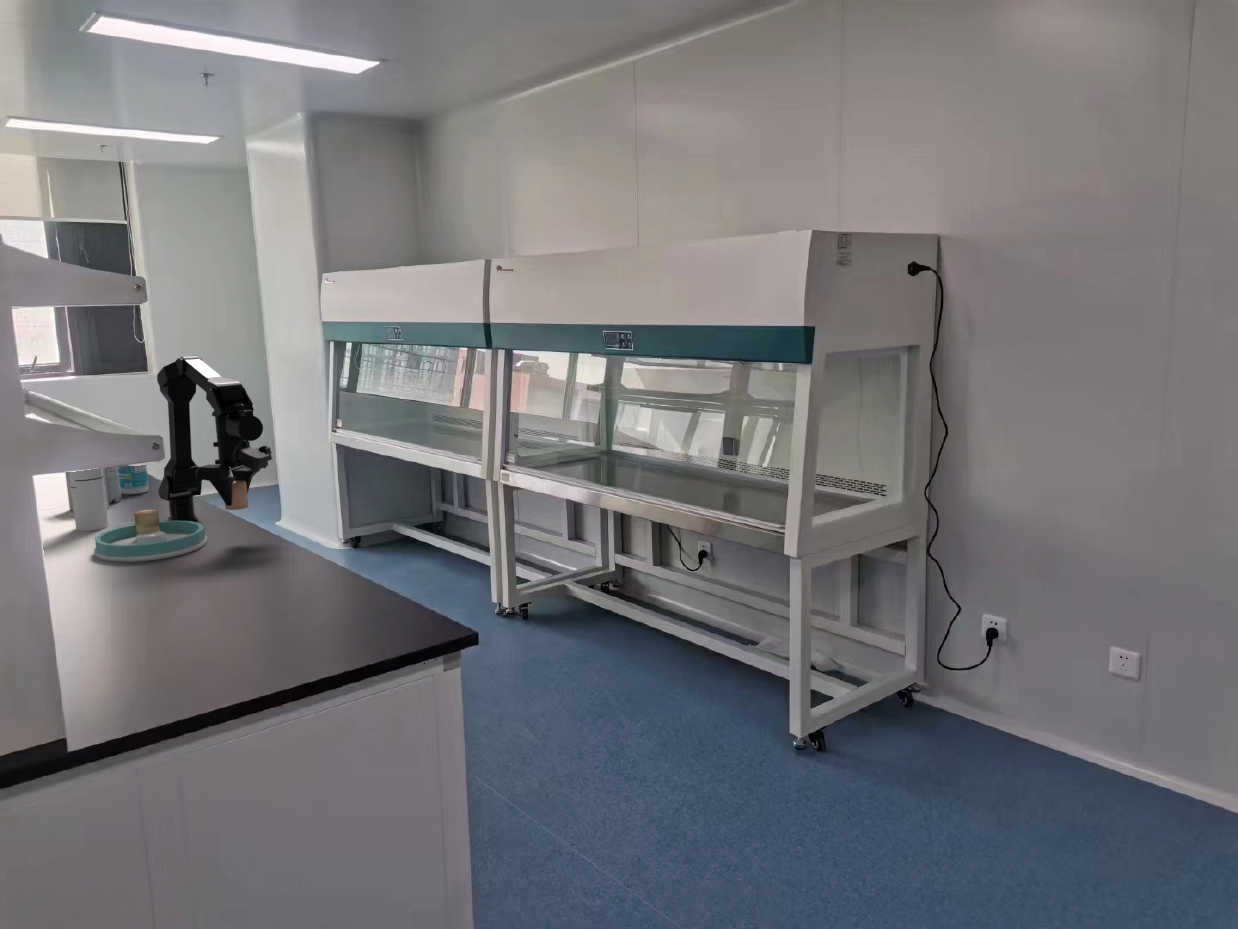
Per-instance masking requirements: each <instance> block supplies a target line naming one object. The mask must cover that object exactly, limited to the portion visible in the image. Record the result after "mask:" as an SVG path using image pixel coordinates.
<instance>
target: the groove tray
mask: <svg viewBox="0 0 1238 929" xmlns="http://www.w3.org/2000/svg"><path fill="white" fill-rule="evenodd" d="M159 523H160V531H153V532H146V533H141V534H138V535H137V534H136V525H135V524H129V525H123V526H118V527H116V528H112V529H110V530H109V529H108V530H106V531H104V532H101V533H99V534H98V535H97V536H96V537H94V541H95V548H94V550H93V552H94V557H95V558H96V559H98V560H101V561H105V562H111V563H113V562H115V563H134V562H136V563H137V562H146V561H148V562H149V561H150V562H151V561H154V560H155V561H156V560H162V559H167V558H172V557H177V556H181V555H186V554H189V553H192V552H195V551H197V550H199V549H201V548H203V547H204V546H206V544H207V543H208V539H207V538H208V537H207V535H206V534H205V533H206V532H205V526H204V525H203V524H202V523H200V522H197V521H177V520H175V521H168V520H159Z"/></svg>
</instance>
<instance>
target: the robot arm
mask: <svg viewBox="0 0 1238 929" xmlns="http://www.w3.org/2000/svg"><path fill="white" fill-rule="evenodd" d="M159 370H160V371H158V373H157V374H156V375H157V376H156V381H157V383H158V384H157V385H158V387H159V392H160V394H161V395H162V396H163V398H165V400H166V401H167V409H168V410H167V411H168V414H167V415H168V431H169V434H168V435H169V449H170V453H169V454H170V458H169V460H168V462H166V465H165V467H164V468H163V477H162V479H161V483H160V485H159V487H158V491H157V492H158V495H159V499H160V500H164V501H168V509H169V516H168V517H167V521H175V520H177V521H192V522H197V521H199V518H198V516H197V515H196V513H195V505H194V504H195V503H194V496H201V494H202V487H203V486H202V484H203V481H207V482H210V483H211V486H213V488H215V490H216V492H217V493H218V495H219V496H220V498H221V499H222V501H223V502H224V505H225V504H226V505H227V506H231V505H232V482H233V481H234V480H245V481H246V486H247V495H248V493H249V490H250V486H251V482H252V479H253V477H254V476H255V475H257V473H259V472H260V471H261V470H262V469H266V468H267V467H268V466H269V461H272V460H273V457H272V450H271V446H268V445H262V446H259V447H255V448H253V447H251V444H250V442H253V441H256V440H259V438H260V437H261V436H262V434H263V431H264V424H263V423H262V421H261V419H260V418H258V417H257V416H255V415H254V410H255V409H254V407H253V406H254V405H253V404H254V403H253V402H252V399H251V398H250V396H249V394H248V393H247V391H246V388H245V387H244V386H243V384H242V383H241V382H240V381H238V380H236V379H233V378H229V377H228V378H227V377H223V376H221V375H220V374H219V373H217V371H215V370H214V369H213V368H211V367H210V366H209V365H208V364H206V363H205V362H204V361H203V359H202V357H201V356H197V355H189V356H180V357H178V358H177V359H176V360H175V361H173V362H171V363H169V364H166V365H165V366H163V367H162V368H161V369H159ZM197 386H198V387H200V389H201V390H202V391H204V392H205V393H206V395H205V400H206V401H207V402H208V404H209V405H210V406H211V408H212V409H213V411H212V413H211V417H214V422H215V423H214V424H215V430H216V439H217V440H216V441H214V442H212V443H213V447H214V448H217V454H218V459H215V460H214V464H206V465H201V466H198V465H197V464H196V463H195V460H193V457H192V436H191V435H192V434H191V432H192V431H191V410H190V403H191V401H192V400H193V398H194V396H195V394H197Z"/></svg>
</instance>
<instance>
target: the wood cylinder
mask: <svg viewBox="0 0 1238 929" xmlns="http://www.w3.org/2000/svg"><path fill="white" fill-rule="evenodd" d="M133 516H134V523H135V525H136V534H137V535H138V534H141V533H146V532H153V531H160V523H159V521H160V517H159V516H160V515H159V510H158V509H143V510H139V511H135V512H134V513H133Z"/></svg>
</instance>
